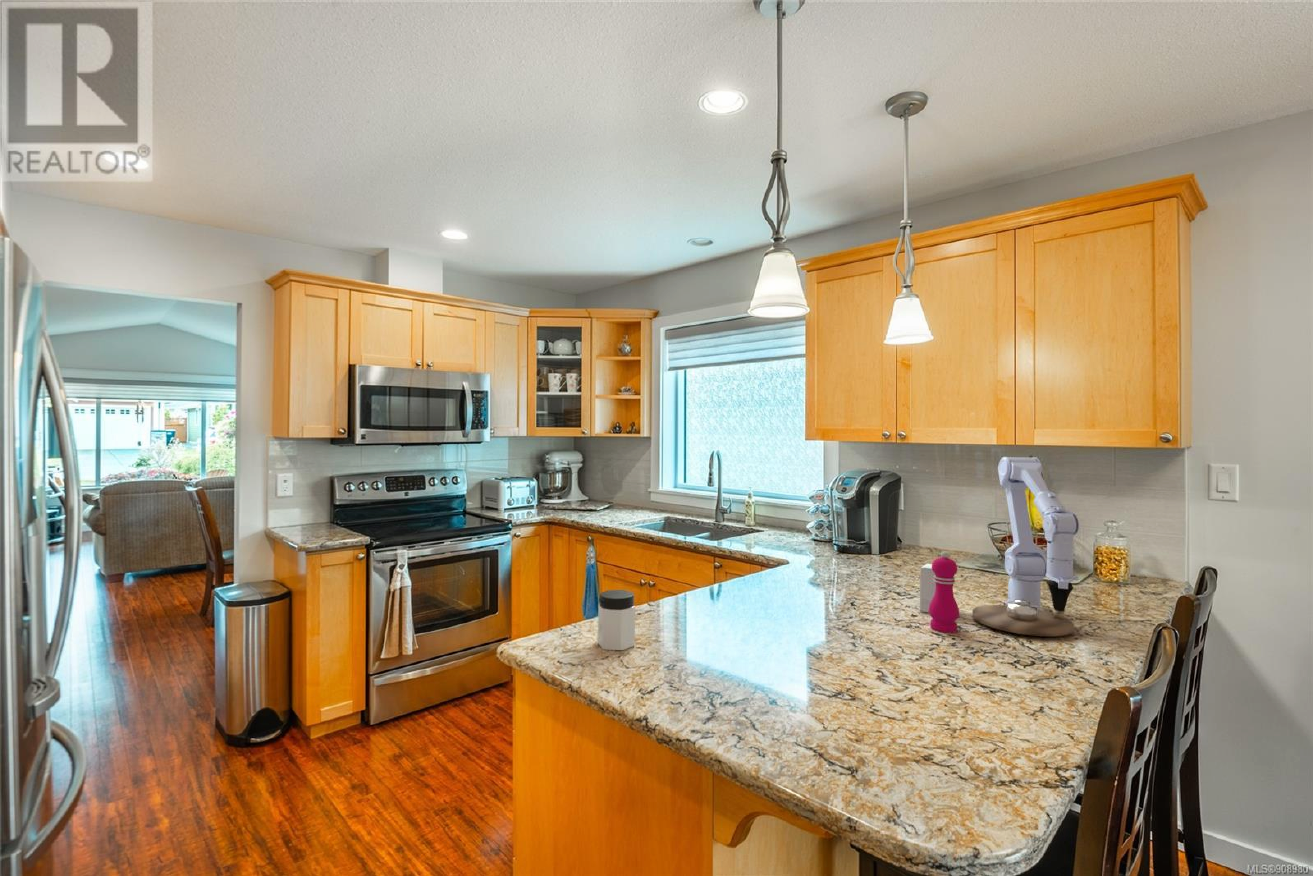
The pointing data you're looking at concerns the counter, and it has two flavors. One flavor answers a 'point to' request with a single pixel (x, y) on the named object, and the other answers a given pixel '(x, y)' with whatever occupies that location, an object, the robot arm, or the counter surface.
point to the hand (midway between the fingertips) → (1058, 610)
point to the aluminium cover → (1022, 610)
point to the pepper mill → (944, 595)
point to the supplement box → (926, 587)
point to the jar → (616, 620)
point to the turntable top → (1042, 627)
